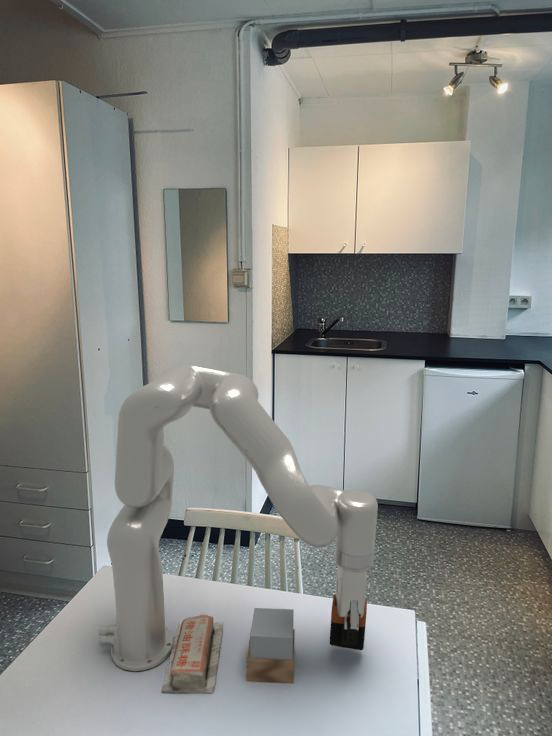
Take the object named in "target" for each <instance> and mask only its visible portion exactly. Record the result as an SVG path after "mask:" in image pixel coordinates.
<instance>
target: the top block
mask: <svg viewBox="0 0 552 736" xmlns="http://www.w3.org/2000/svg"><path fill="white" fill-rule="evenodd" d="M251 627H252V628H250V633H251V635H250V634H249V640H250V658H254V659H275V660H292V652H293V629H294V609H293V608H292V609H291V608H290V609H289V608H265V607H264V608H263V607H254V608H253V615H252V622H251Z"/></svg>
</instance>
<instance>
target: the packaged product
mask: <svg viewBox="0 0 552 736" xmlns="http://www.w3.org/2000/svg"><path fill="white" fill-rule="evenodd" d="M223 636H224V622H214V617H213V616H212V615H208V614H200V615H196V616H191V617H187V618H185V619H183V620H182V622H181V623H178V625H177V629H176V632H175V638H174V639H173V641H174V644H173V648H172V652H171V653H170V655H169V656H170V657H169V661H168V664H167V668H166V672H165V676H164V680H163V683H162V687H161V693H162V694H213V693H214V692H215V686H216V682H217V681H216V680H217V678H216V677H217V673H218V667H219V661H220V656H221V649H222V642H223Z"/></svg>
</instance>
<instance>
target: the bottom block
mask: <svg viewBox="0 0 552 736" xmlns="http://www.w3.org/2000/svg"><path fill="white" fill-rule="evenodd" d="M251 628H252V626H251ZM251 628H250V629H251ZM295 631H296V630H295V629H294V628H293V652H292V660H275V659H254V658H250V639H249V641H248V648H247V655H246V682H251V683H270V684H272V683H273V684H275V683H276V684H294V683H295V682H294V680H295V679H294V678H295V676H294V674H295V673H294V672H295V640H296V639H295V636H296V635H295V633H296V632H295ZM250 635H251V632H250V634H249V636H250Z"/></svg>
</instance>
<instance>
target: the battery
mask: <svg viewBox="0 0 552 736" xmlns="http://www.w3.org/2000/svg"><path fill="white" fill-rule="evenodd" d="M331 604H332V605H331V611H330V612H331V613H330V614H331V617H330V628H329V629H330V630H329V645H330V646H333V647H338V648H343V649H344V648H345V649H351V650H357V651H363V650H364V647H365V637H366V625H367V613H368V612H367V609H368V608H367V606H368V600H367V599H366V598H365V606H364V614H363V617H362V618H360V617H359V634H358V645H356V646H354V645H342V644H341V637H342V626H344V617H340V616H339V615H338V612H337V603H336V593H335V594H333V596H332V603H331ZM348 612H350V610H349V611H348ZM347 622H350V617H347Z"/></svg>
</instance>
